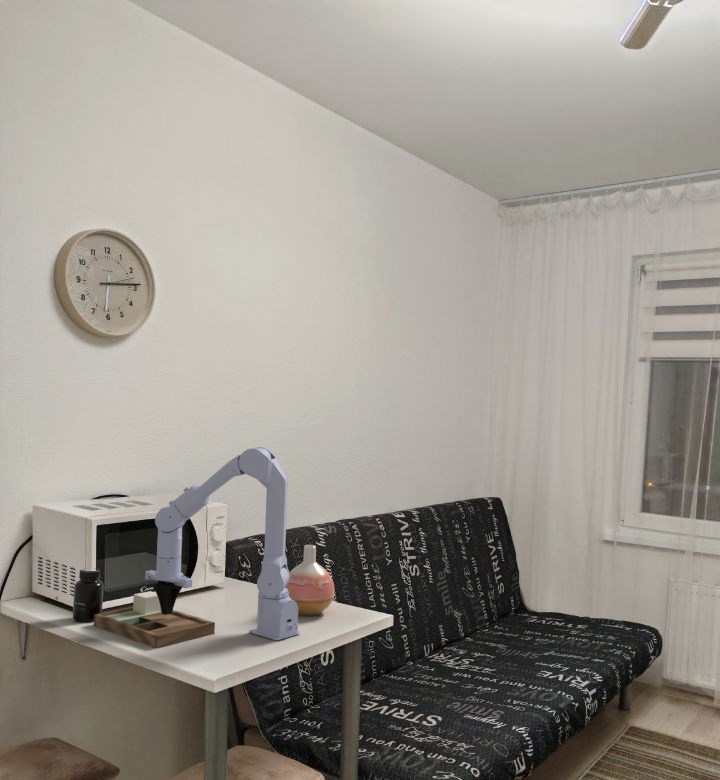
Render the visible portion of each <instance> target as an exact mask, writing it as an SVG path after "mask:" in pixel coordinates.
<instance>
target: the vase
mask: <svg viewBox="0 0 720 780" xmlns="http://www.w3.org/2000/svg"><path fill="white" fill-rule="evenodd" d="M316 546H317V545H314V544H305V545H304V547H303V560H302V562H301V563H299V564H297V565H296V566H295V567H294V568H293V569H291V571H289V572H290V581H289V583H288V585H287V586H286V588H287V590H288V592H289V597H290V598H291V599H292V600H294V601H295V602H296V603H297V605H298V616H302V615H304V617H313V616H318V615H321V614H322V613H323V612H324V611H325V610H326V609H328V608H329V607H330V605H331V604H332V602H334V598H335V583H334V581H333V578H332V576H331V574H330V573H329V572H328V570H326V569H325V568H324V566H322V565H320V564H319V563H318V562H317V561H316V558H317V557H316V556H317V555H316V554H317V547H316Z"/></svg>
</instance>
